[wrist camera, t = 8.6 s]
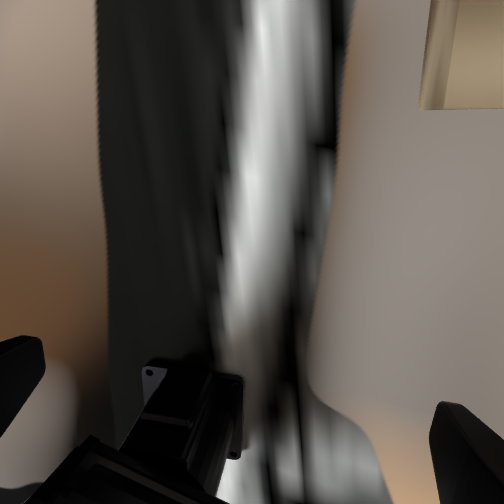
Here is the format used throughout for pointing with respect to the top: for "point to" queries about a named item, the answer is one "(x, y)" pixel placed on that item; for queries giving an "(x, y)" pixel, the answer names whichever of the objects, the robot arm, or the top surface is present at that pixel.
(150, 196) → the top surface
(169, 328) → the top surface
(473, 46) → the oak block
